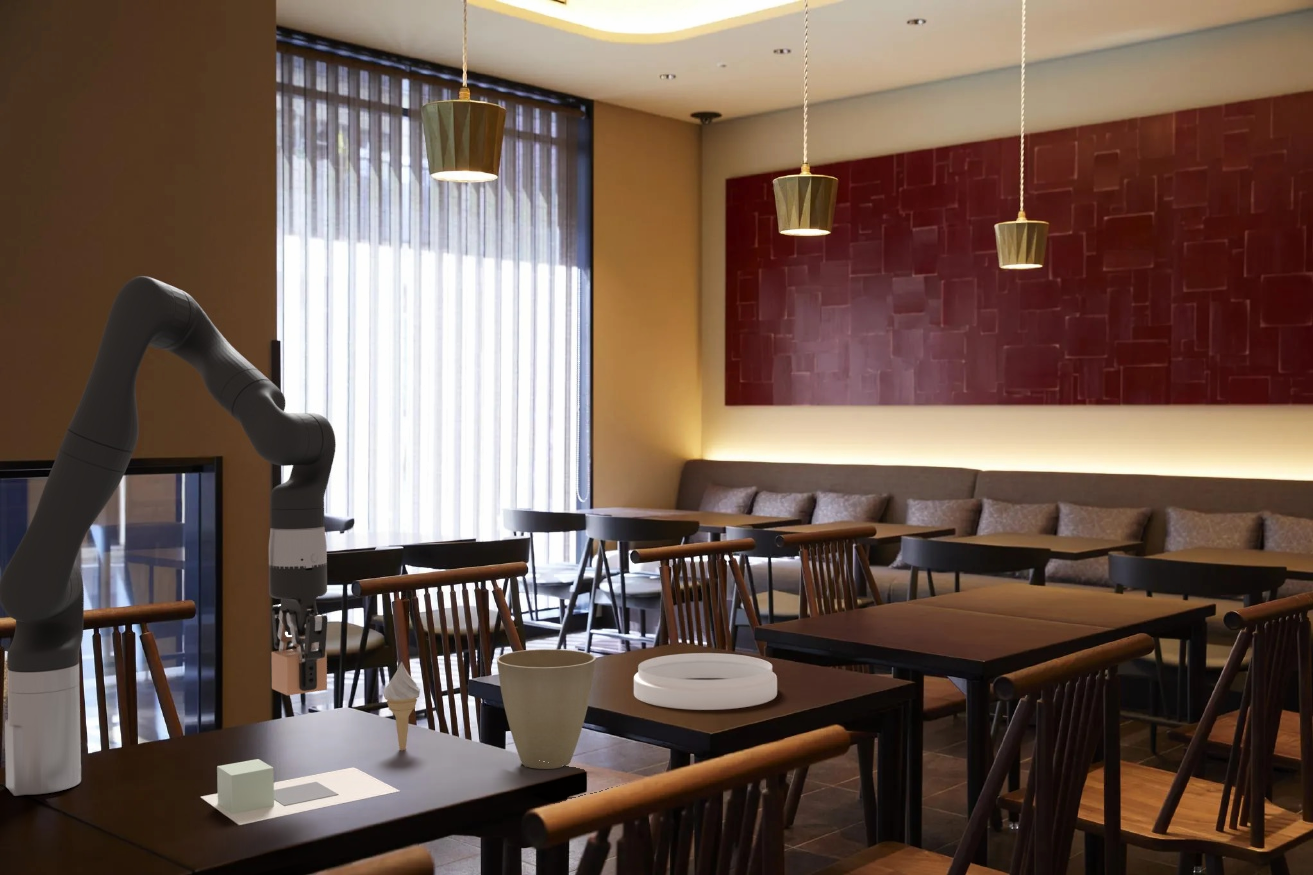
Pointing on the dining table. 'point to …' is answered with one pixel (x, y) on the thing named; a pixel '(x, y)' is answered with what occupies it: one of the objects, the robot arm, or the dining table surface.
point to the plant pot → (546, 702)
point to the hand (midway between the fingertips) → (299, 685)
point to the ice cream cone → (401, 701)
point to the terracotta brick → (294, 672)
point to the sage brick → (245, 786)
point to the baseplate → (312, 794)
